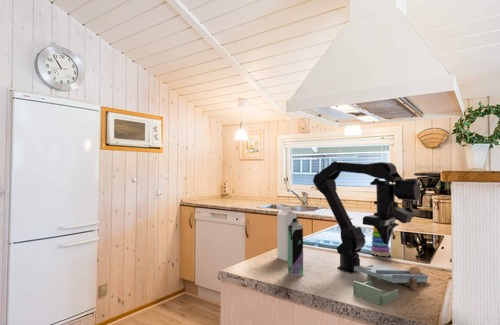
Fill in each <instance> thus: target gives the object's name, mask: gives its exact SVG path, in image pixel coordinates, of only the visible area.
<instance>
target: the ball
mask: <svg viewBox="0 0 500 325" xmlns="http://www.w3.org/2000/svg"><path fill="white" fill-rule="evenodd" d="M408 270H409V272H410V274H412V275H419V274H420V273H422V272H421V267H419V266H418V265H417V264H411V265H410V266H409V267H408Z"/></svg>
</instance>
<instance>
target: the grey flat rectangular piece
mask: <svg viewBox="0 0 500 325" xmlns="http://www.w3.org/2000/svg"><path fill="white" fill-rule="evenodd" d="M354 270H355V271H356V272H360V274H361V273H362V274H365V275H367V274H368V275H371V276H374V277H377V278H380V279H383V280H386V281H389V282H393V283H403V284H407V283H410V279H411V278H414V277H415V278H417V283H427V282H428V274H425V273H423V272H421V273H420V274H419V275H412V274H410V272H409V269H396V268H391V267H388V266H373V267H367V266H362V265H360V266H354Z"/></svg>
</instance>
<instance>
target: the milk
mask: <svg viewBox="0 0 500 325" xmlns="http://www.w3.org/2000/svg"><path fill="white" fill-rule="evenodd" d="M276 216H277V217H276V218H277V222H276V224H277V228H276V229H277V231H276V232H277V236H276V238H277V241H276V242H277V249H276V250H277V259H280V260H282V261H284V262H288V224H290V223H292V221H293V218H298V217H297V214H296V213H295V212H294V211H292V207H291V206H285V205H282V210H280V211H279V212H278V213H276Z"/></svg>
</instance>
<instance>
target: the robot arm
mask: <svg viewBox="0 0 500 325" xmlns="http://www.w3.org/2000/svg"><path fill="white" fill-rule="evenodd" d="M342 172H343V173H351V174H352V173H353V174H360V175H361V174H364V175H367V176H370V177H373V178H374V179H373V181H371V182H370V183H369V185H370V186H376V187H375V188H376V200H374V201H373V204H374V205H376V212H377V213H376V212H374V213H373V214H374V216H373V214H372V215H371V214H370V215H365V216H363V217H362V225H365V226H372V227H374V226H375V227H376V229H377V231H378V233H379V235H380V236H381V238H382V240H383V242H384V244H388V243H389V242H390V239H391V237H392V233H393V231H394V229H395V228H397V227H398V226H399V225H400V223H401V224H407V223H411V222H412V219H413V218H415V212H414V207H411V206H406V207H405V208H404V207H401V206H399V203H398V201H395V200H396V199H395V198H397V199H398V200H404V201H416V202H417V201H419V200H420V198H421V188H420V184H418V183H419V182H418V181H419V180H418V179H403V177H402V176H401V175H400V173H399V172H398V171H397V167H396V165H395V163H392V162H387V161H386V162H384V161H382V162H381V161H379V162H371V163H359V162H346V161H345V162H344V161H341V160H340V161H339V160H334V161H332V162H331V163H330V164H329V165H328V166H326V167H325V168H323V169H322V170H320V172H317V173H316V174H315V175H314V176H313V179H312V182H313V185H314V186H315V187H316V189H317V190H318V191H319V193H321V194H323V196H324V198H325V199H326V202H327V204H328V206H329V207H330V210H331V212H332V214H333V216H334V218H335V220H336V223H337V224H338V227H339V228H340V229H339V230H340V240H341V243H340V244H339V245H338V246H337V247H336V251H337V254H339V266H337V269H338V270H341V271H344V272H347V273H356V272H357V271H355V270H354V266H361V258H360V254H359V253H361V251H362V248H364V247H365V245H366V235H365V234H364V233H363V230H362V228H361V226H358V227H356V226H355V225H354V224H353V223H352V221H351V218H350V216H349V214H348V212H347V211H346V209H345V207H344V206H345V205H343V203H342V201H341V198H340V197H339V195H338V192H337V184H336V179H338V178H339V176H340V174H341V173H342ZM396 221H399V223H396Z"/></svg>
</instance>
